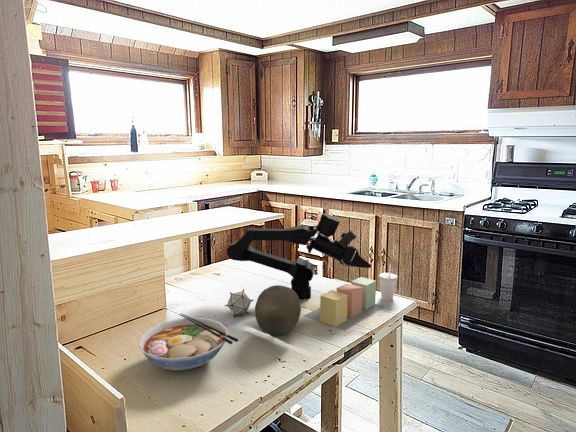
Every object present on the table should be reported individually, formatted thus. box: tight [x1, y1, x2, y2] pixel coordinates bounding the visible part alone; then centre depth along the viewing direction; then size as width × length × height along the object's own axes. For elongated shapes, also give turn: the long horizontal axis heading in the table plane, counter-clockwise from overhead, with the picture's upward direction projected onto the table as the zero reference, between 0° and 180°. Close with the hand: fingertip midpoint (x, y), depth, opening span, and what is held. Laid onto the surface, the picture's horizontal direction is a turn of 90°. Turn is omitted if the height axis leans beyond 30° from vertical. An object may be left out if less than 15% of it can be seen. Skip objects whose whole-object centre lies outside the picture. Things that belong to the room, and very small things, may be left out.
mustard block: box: [319, 289, 348, 328], centre depth 132 cm, size 6×6×8 cm
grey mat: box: [303, 303, 385, 331], centre depth 140 cm, size 16×24×1 cm, turn 138°
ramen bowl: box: [137, 312, 239, 371], centre depth 110 cm, size 25×23×8 cm
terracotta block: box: [336, 283, 362, 318], centre depth 138 cm, size 6×6×8 cm
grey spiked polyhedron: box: [224, 288, 254, 318], centre depth 140 cm, size 9×8×10 cm
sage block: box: [350, 276, 377, 309], centre depth 144 cm, size 6×6×8 cm
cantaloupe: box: [254, 284, 302, 337], centre depth 125 cm, size 14×14×15 cm
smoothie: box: [378, 263, 398, 301], centre depth 150 cm, size 6×6×14 cm
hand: (368, 266), depth 146 cm, fingers open, 9 cm apart
